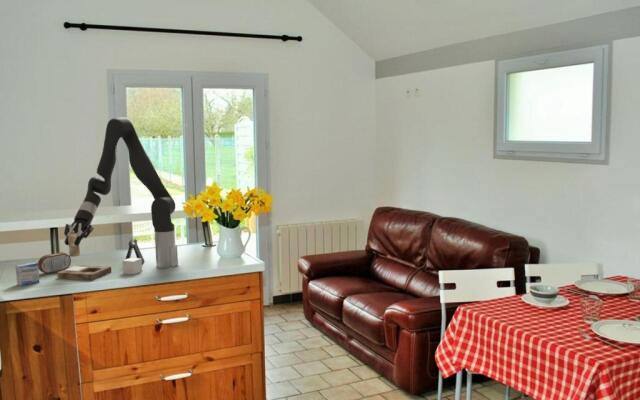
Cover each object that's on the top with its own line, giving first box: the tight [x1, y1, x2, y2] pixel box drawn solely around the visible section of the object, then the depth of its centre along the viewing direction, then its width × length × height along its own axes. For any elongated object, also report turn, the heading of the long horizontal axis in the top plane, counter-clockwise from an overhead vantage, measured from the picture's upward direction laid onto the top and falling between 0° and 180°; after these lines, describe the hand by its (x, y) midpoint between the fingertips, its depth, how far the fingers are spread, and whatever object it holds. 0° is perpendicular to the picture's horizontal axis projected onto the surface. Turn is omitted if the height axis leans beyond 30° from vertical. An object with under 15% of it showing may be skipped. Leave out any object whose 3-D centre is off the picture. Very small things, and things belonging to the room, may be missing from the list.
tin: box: [37, 252, 72, 274], centre depth 277 cm, size 15×3×8 cm, turn 141°
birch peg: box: [68, 232, 81, 258], centre depth 270 cm, size 4×4×10 cm
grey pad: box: [64, 265, 87, 271], centre depth 271 cm, size 7×7×1 cm
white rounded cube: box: [122, 257, 143, 275], centre depth 274 cm, size 6×6×6 cm
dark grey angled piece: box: [124, 238, 145, 266], centre depth 289 cm, size 9×6×12 cm, turn 98°
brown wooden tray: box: [56, 264, 112, 281], centre depth 270 cm, size 18×14×2 cm
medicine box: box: [15, 261, 40, 287], centre depth 258 cm, size 8×4×9 cm, turn 138°
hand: (71, 244), depth 268 cm, fingers closed on birch peg, 4 cm apart
